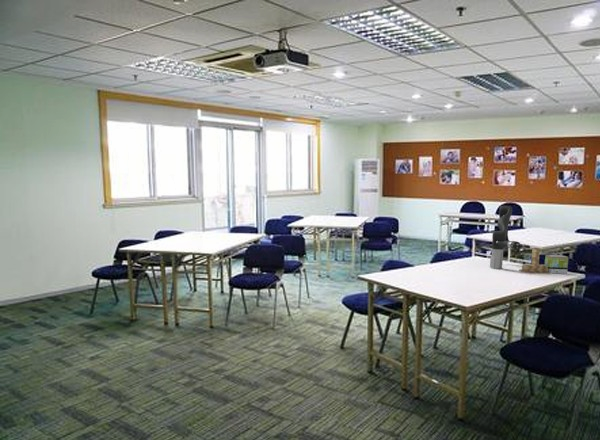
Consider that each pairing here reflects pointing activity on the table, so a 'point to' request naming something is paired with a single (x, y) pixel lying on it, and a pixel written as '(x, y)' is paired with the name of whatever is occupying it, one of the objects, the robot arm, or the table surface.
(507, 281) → the table surface
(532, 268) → the ridge board
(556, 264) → the tea box
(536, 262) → the post
